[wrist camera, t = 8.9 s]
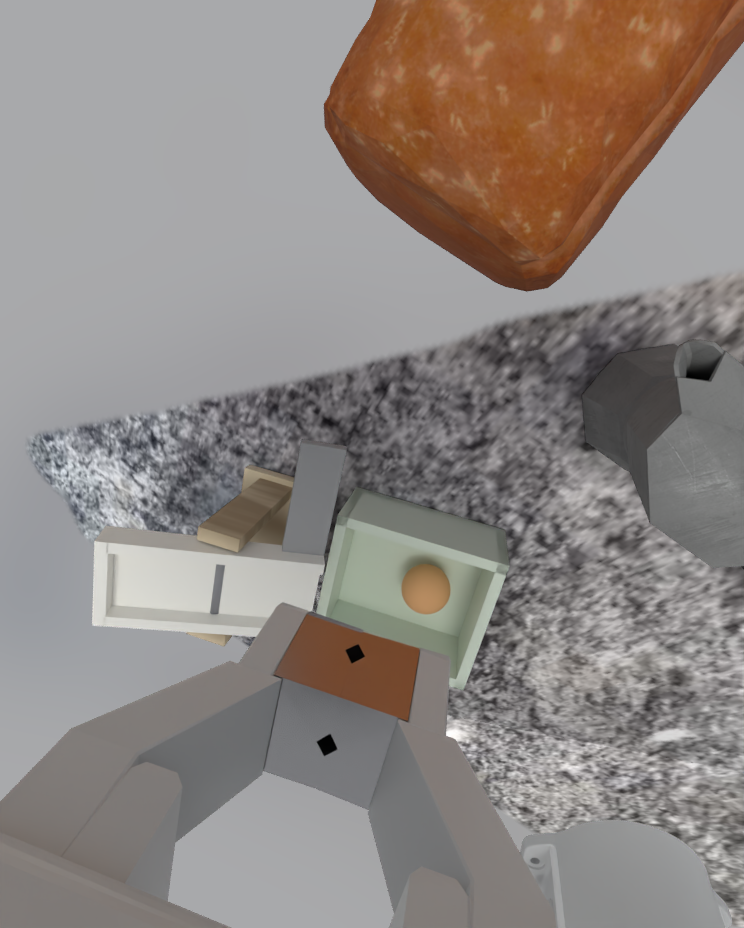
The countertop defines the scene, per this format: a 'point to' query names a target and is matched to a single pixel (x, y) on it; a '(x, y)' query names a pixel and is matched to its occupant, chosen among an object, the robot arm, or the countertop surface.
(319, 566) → the lever
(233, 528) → the lever base
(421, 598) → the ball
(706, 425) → the coffeepot
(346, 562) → the bin
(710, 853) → the countertop surface
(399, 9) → the bread
